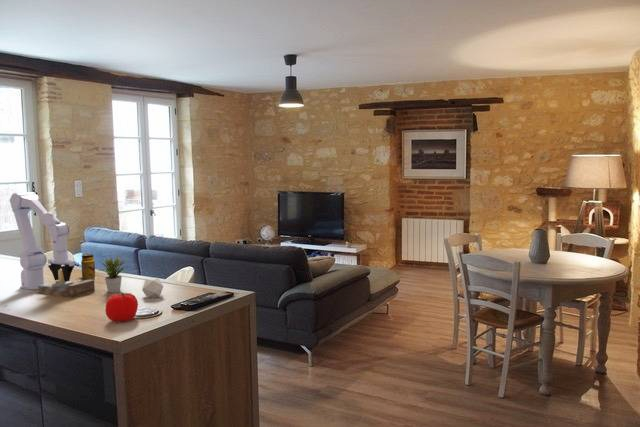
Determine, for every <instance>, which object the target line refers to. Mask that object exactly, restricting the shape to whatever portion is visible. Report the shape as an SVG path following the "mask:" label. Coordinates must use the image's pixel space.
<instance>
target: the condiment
mask: <svg viewBox="0 0 640 427" xmlns="http://www.w3.org/2000/svg"><path fill="white" fill-rule="evenodd" d="M94 258H95V257H94V254H92V253H87V254H86V253H85V254H82V255H81V261H80V264H81V265H80V266H81V277H76V280H77V281H78V282H82V281H85V280H89V279H90V280H98V278H97V277H96V265H95V262H96V261H95V259H94Z"/></svg>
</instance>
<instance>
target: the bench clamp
mask: <svg viewBox="0 0 640 427" xmlns="http://www.w3.org/2000/svg"><path fill="white" fill-rule="evenodd" d="M72 282H73V284H70V285H67V288H62V287H56V286H52V284H51V285H49V286H47V285H48V284H45V285H38V289H36V293H39V294H45V295H51V296H53V295H54V296H59V297H66V298H75V297H79V296H82V295H85V294H90V293H93V292H95V291H96V289H95V288H96V287H95V279H93V280H90V279H89V280H83V281H78V282H76V281H75V282H74V281H72ZM55 283H59V280H55Z"/></svg>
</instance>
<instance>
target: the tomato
mask: <svg viewBox="0 0 640 427" xmlns="http://www.w3.org/2000/svg"><path fill="white" fill-rule="evenodd" d="M138 308H139V302H138V299H137V298H136V296H135V295H134V294H133V293H128V292H121V293H117V292H115V294H112V295H110V296H109V298H108V299H107V301H106V302H105V316H106V317H107V319H109V321H111V322H114V323H126V322H129V321H131V320H133V319H134V318H135V316H136V315H137V312H138Z"/></svg>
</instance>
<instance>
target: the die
mask: <svg viewBox="0 0 640 427" xmlns="http://www.w3.org/2000/svg"><path fill="white" fill-rule="evenodd" d="M163 288H164V284H163V283H162V281H161V280H160V278H158V277H153V278H145V280H144V283H143V286H142V289H141V290H142V291H141V292H143V294H144V295H145V296H146V298H147V299H152V298H159V297H160V296H161V294H162V291H163Z"/></svg>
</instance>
